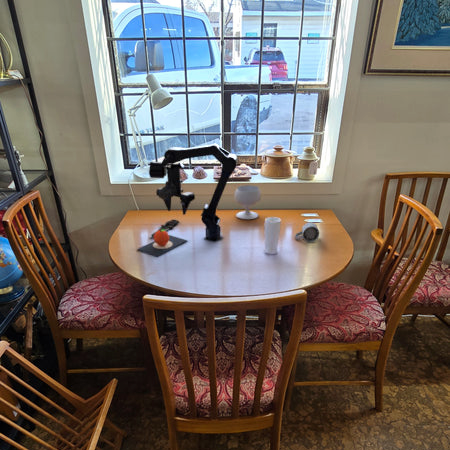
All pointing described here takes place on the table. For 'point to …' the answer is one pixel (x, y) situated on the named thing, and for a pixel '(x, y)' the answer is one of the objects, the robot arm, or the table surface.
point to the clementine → (161, 237)
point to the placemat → (162, 246)
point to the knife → (167, 226)
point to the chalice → (247, 200)
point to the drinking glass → (272, 234)
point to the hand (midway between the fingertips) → (176, 212)
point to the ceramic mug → (308, 232)
